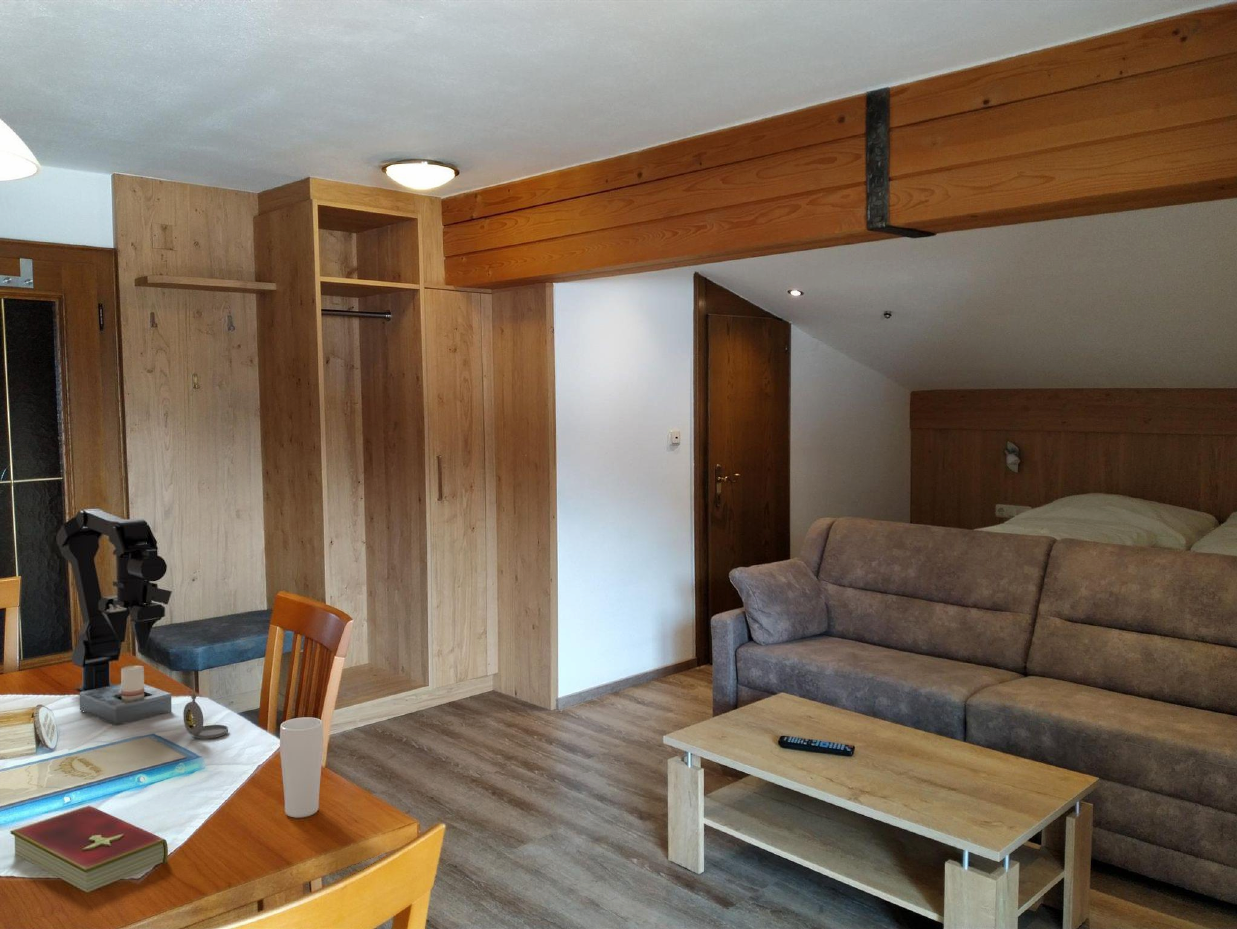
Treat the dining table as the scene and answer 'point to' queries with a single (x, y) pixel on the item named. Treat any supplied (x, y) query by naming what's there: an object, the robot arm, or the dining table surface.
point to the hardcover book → (89, 847)
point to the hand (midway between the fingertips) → (131, 645)
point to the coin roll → (132, 683)
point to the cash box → (124, 704)
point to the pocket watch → (200, 722)
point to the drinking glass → (301, 764)
